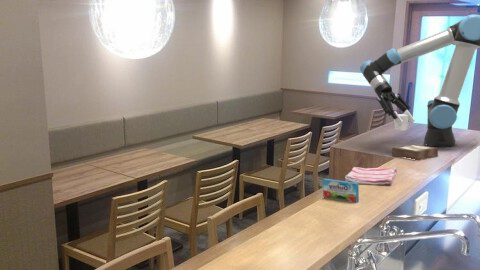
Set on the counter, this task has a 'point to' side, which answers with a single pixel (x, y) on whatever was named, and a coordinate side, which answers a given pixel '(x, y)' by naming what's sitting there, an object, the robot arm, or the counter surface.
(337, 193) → the blue flat box
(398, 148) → the block
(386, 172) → the dish towel
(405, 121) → the white cup
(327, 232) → the counter surface
